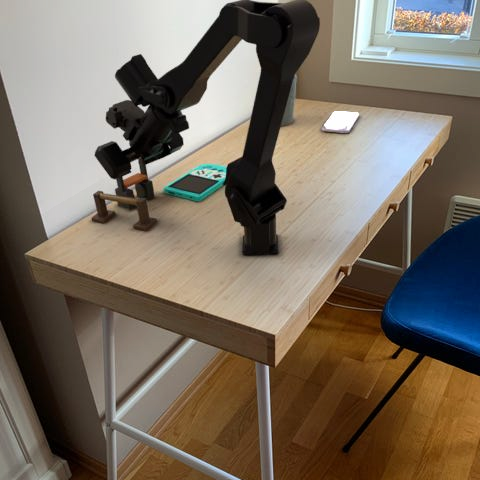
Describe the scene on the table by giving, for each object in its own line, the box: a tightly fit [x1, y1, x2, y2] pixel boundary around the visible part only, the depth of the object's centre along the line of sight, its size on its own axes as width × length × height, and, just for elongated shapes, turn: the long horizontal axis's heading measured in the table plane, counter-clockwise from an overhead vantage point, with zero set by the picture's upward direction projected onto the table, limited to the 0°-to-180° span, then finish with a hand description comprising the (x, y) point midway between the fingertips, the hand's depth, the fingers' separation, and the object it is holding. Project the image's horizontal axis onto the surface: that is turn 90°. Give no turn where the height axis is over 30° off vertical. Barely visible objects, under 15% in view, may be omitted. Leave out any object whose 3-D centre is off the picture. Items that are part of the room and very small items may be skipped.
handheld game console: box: [163, 163, 227, 202], centre depth 118 cm, size 10×16×1 cm, turn 148°
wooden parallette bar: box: [91, 190, 158, 232], centre depth 104 cm, size 13×4×6 cm, turn 66°
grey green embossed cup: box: [281, 73, 298, 127], centre depth 145 cm, size 10×10×12 cm
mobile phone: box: [321, 111, 360, 134], centre depth 144 cm, size 8×1×15 cm
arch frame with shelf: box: [114, 158, 155, 211], centre depth 110 cm, size 7×4×10 cm, turn 141°
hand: (126, 170), depth 110 cm, fingers closed on arch frame with shelf, 7 cm apart
